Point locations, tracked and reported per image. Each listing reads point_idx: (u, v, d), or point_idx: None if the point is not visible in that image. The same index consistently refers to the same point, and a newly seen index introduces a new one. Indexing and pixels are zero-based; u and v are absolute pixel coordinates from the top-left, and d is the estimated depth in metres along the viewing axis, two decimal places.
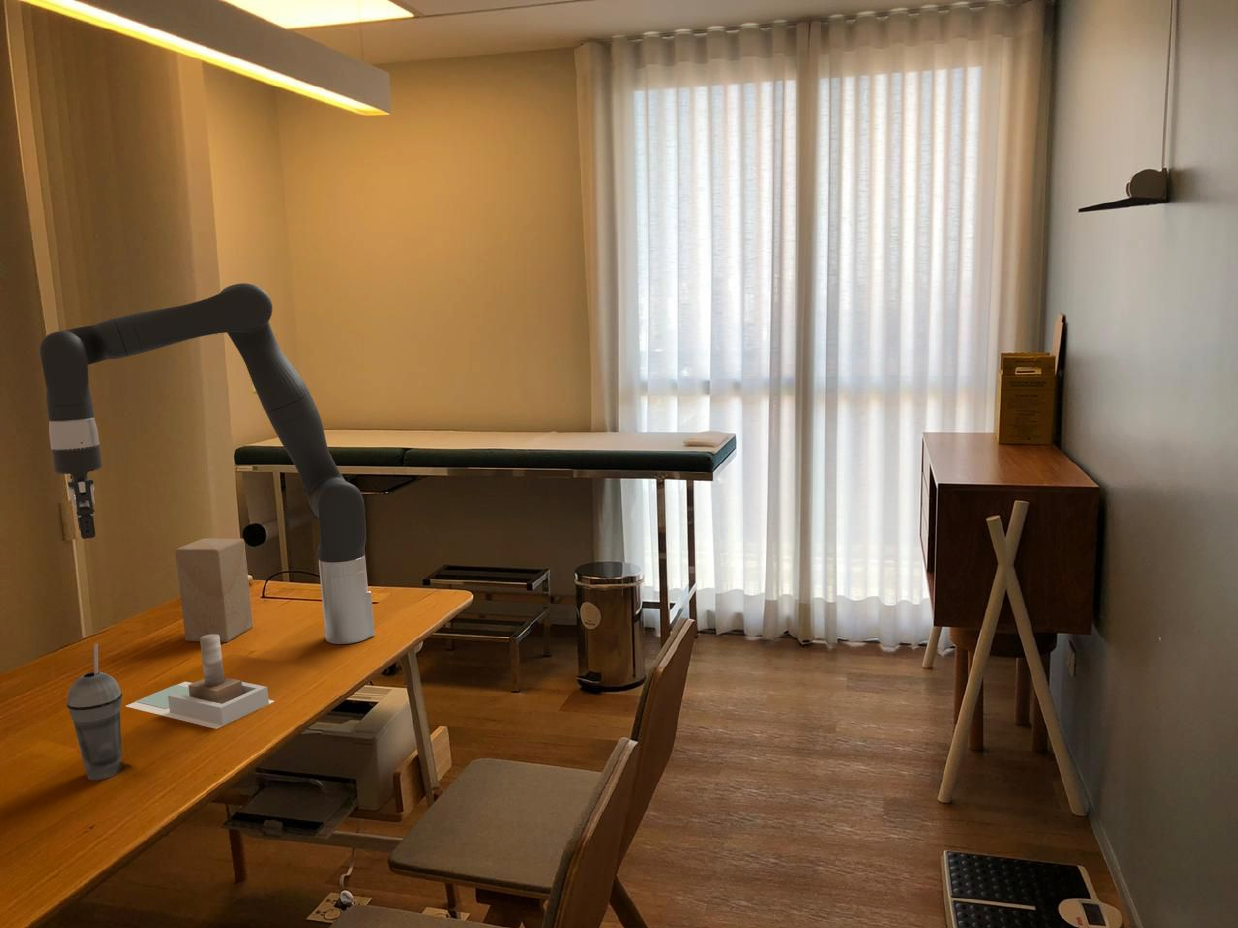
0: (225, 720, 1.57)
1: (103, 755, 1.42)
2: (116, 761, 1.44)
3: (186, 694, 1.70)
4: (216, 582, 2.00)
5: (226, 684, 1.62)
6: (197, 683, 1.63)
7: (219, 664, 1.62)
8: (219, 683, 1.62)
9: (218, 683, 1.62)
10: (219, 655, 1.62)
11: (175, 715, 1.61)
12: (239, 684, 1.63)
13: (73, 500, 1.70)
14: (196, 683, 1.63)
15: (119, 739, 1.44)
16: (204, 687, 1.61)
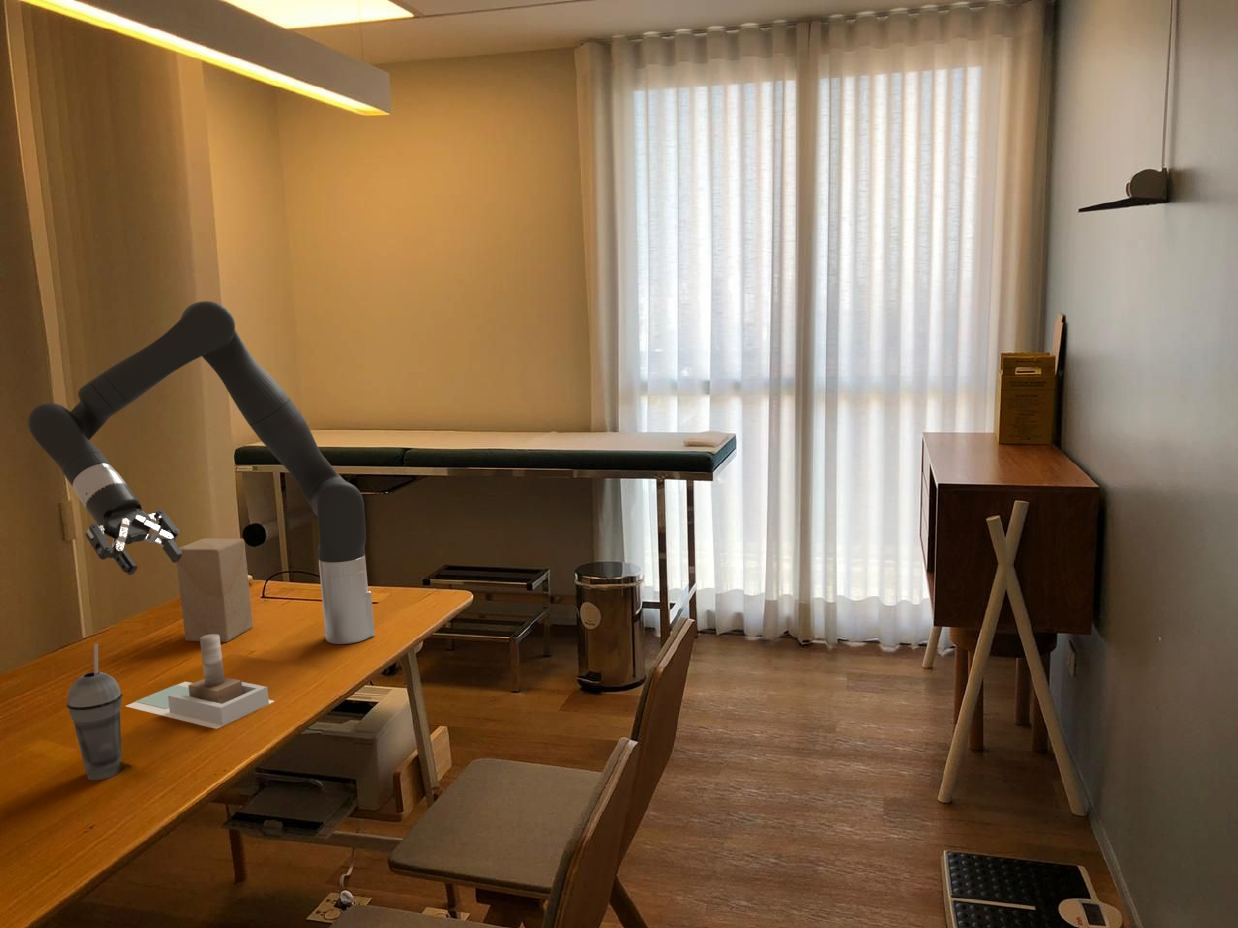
0: (225, 720, 1.57)
1: (103, 755, 1.42)
2: (116, 761, 1.44)
3: (186, 694, 1.70)
4: (216, 582, 2.00)
5: (226, 684, 1.62)
6: (197, 683, 1.63)
7: (219, 664, 1.62)
8: (219, 683, 1.62)
9: (218, 683, 1.62)
10: (219, 655, 1.62)
11: (175, 715, 1.61)
12: (239, 684, 1.63)
13: (112, 546, 1.65)
14: (196, 683, 1.63)
15: (119, 739, 1.44)
16: (204, 687, 1.61)
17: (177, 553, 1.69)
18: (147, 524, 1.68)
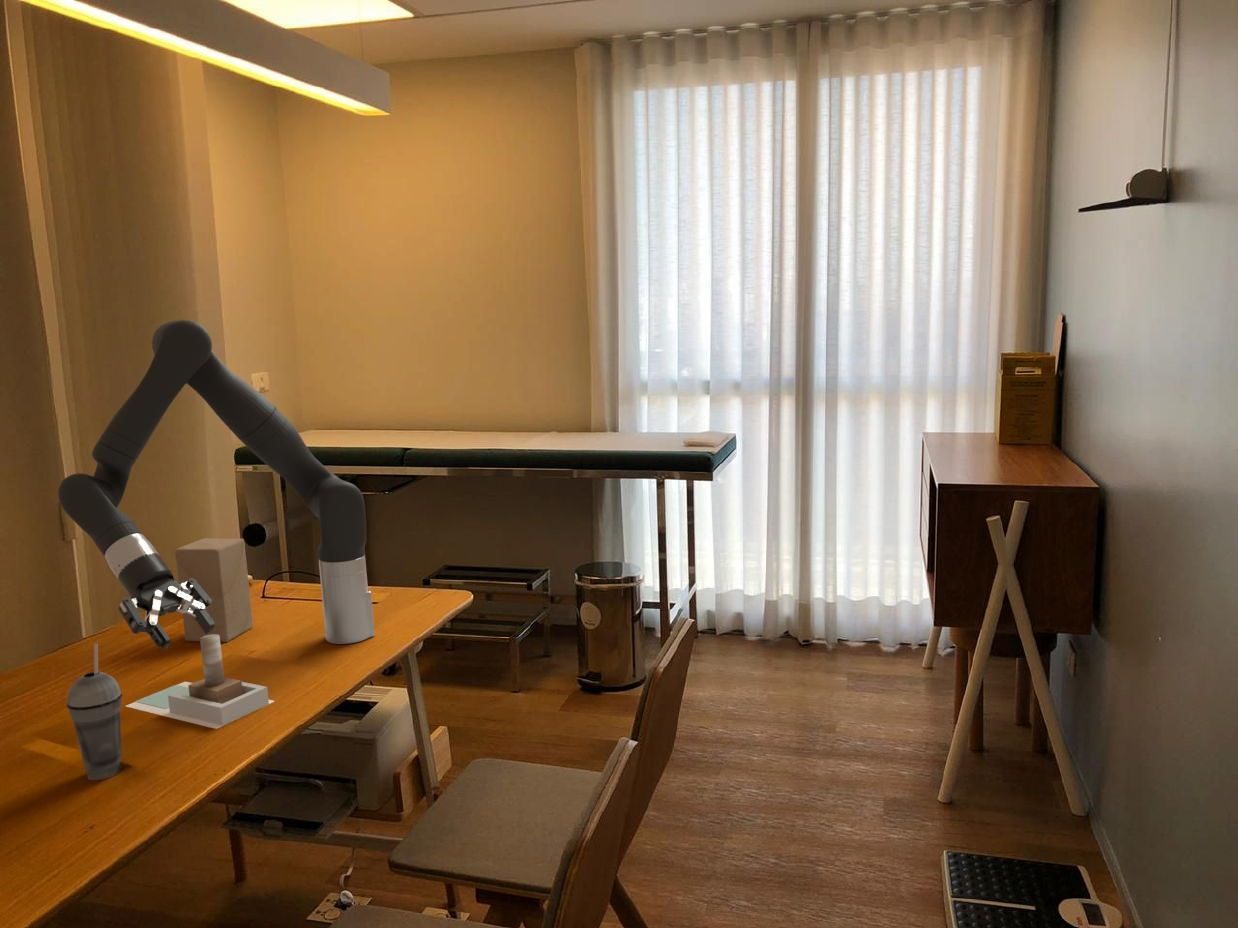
0: (225, 720, 1.57)
1: (103, 755, 1.42)
2: (116, 761, 1.44)
3: (186, 694, 1.70)
4: (216, 582, 2.00)
5: (226, 684, 1.62)
6: (197, 683, 1.63)
7: (219, 664, 1.62)
8: (219, 683, 1.62)
9: (218, 683, 1.62)
10: (219, 655, 1.62)
11: (175, 715, 1.61)
12: (239, 684, 1.63)
13: (145, 618, 1.64)
14: (196, 683, 1.63)
15: (119, 739, 1.44)
16: (204, 687, 1.61)
17: (210, 624, 1.68)
18: (179, 595, 1.67)
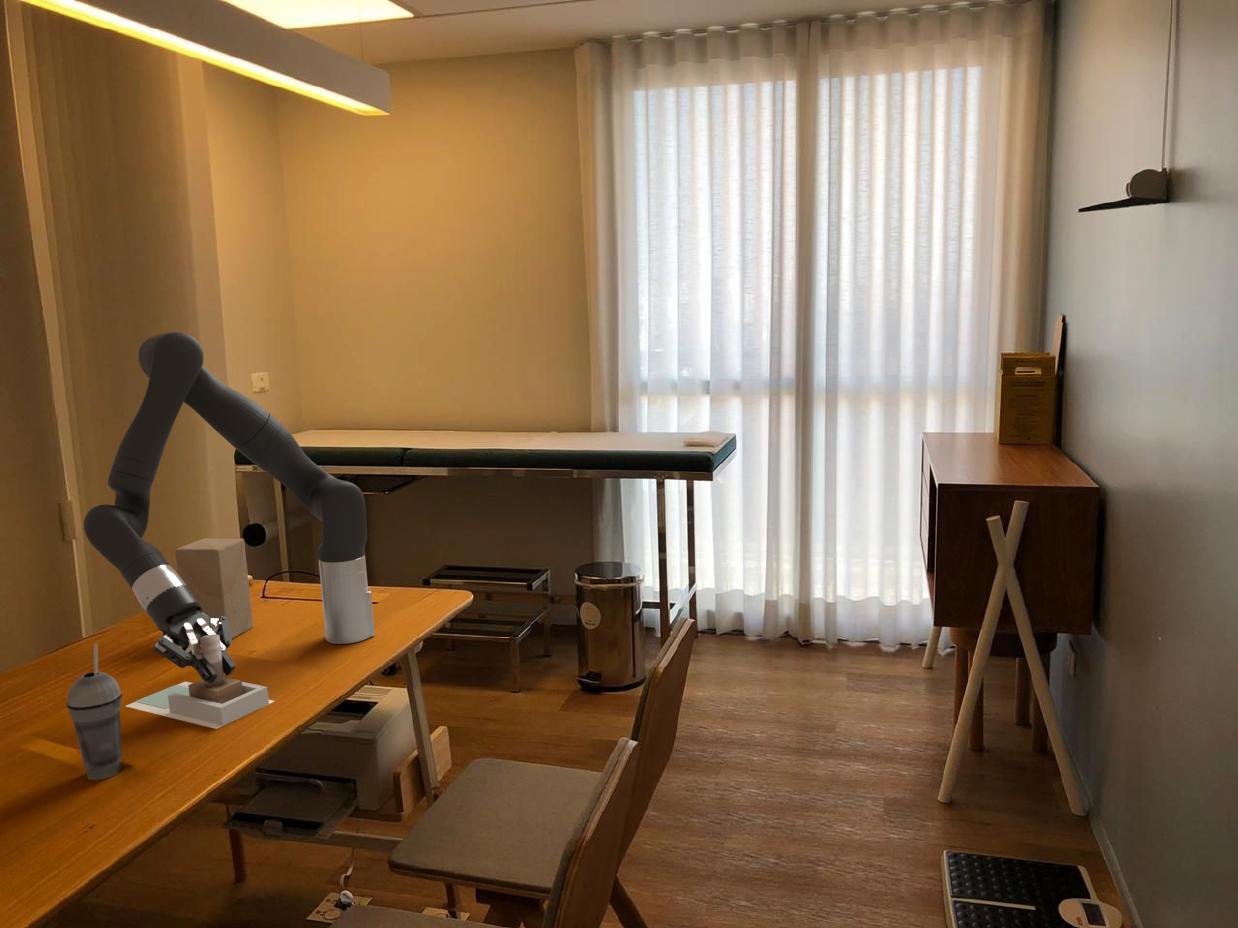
0: (225, 720, 1.57)
1: (103, 755, 1.42)
2: (116, 761, 1.44)
3: (186, 694, 1.70)
4: (216, 582, 2.00)
5: (226, 684, 1.62)
6: (197, 683, 1.63)
7: (219, 664, 1.62)
8: (219, 683, 1.62)
9: (218, 683, 1.62)
10: (219, 655, 1.62)
11: (175, 715, 1.61)
12: (239, 684, 1.63)
13: None
14: (196, 683, 1.63)
15: (119, 739, 1.44)
16: (204, 687, 1.61)
17: (230, 666, 1.63)
18: (205, 629, 1.64)
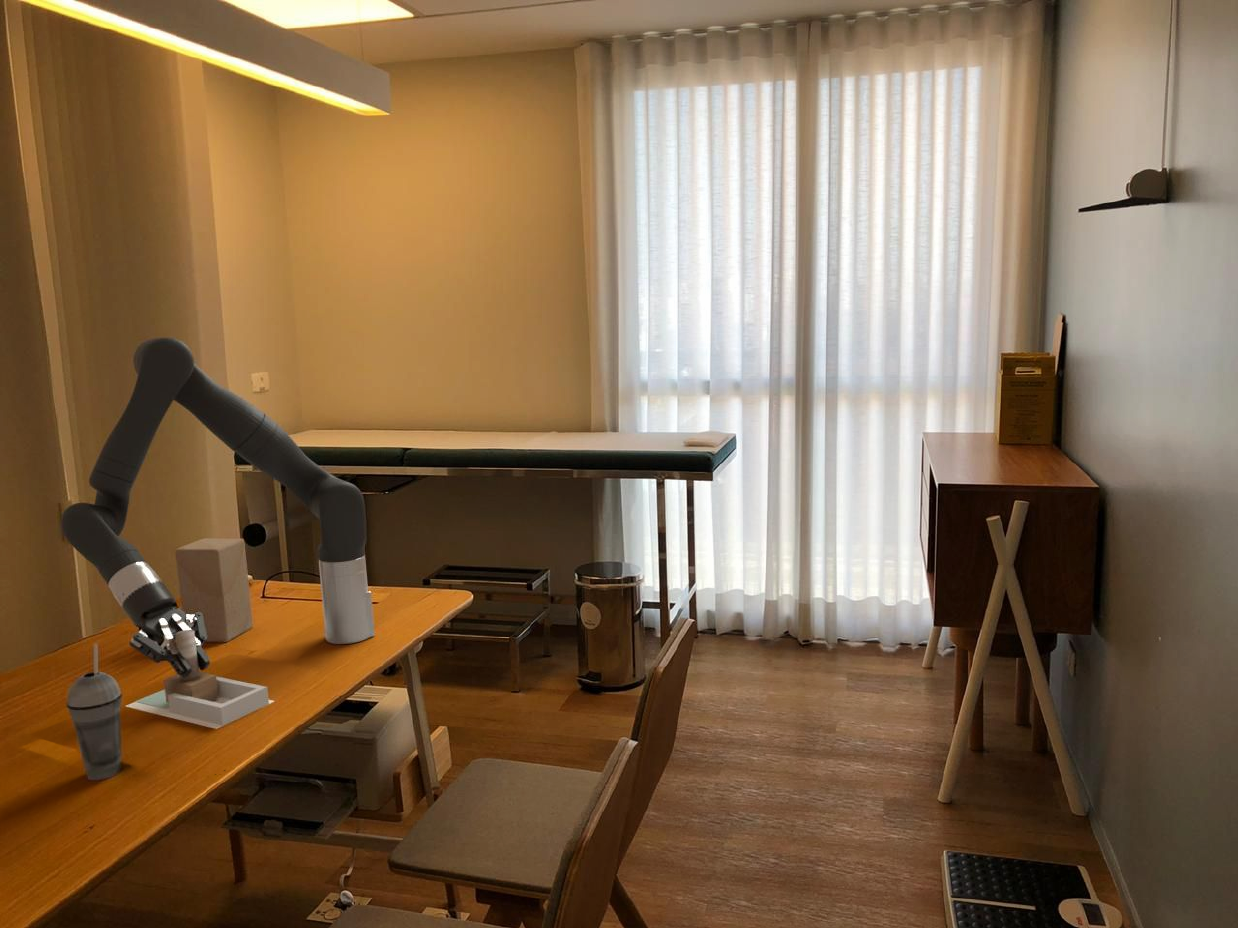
0: (225, 720, 1.57)
1: (103, 755, 1.42)
2: (116, 761, 1.44)
3: None
4: (216, 582, 2.00)
5: (200, 679, 1.65)
6: (172, 678, 1.66)
7: (194, 659, 1.65)
8: (194, 678, 1.65)
9: (193, 678, 1.65)
10: (194, 650, 1.65)
11: (175, 715, 1.61)
12: (214, 678, 1.66)
13: None
14: (171, 678, 1.66)
15: (119, 739, 1.44)
16: (179, 682, 1.64)
17: (205, 661, 1.66)
18: (180, 625, 1.67)
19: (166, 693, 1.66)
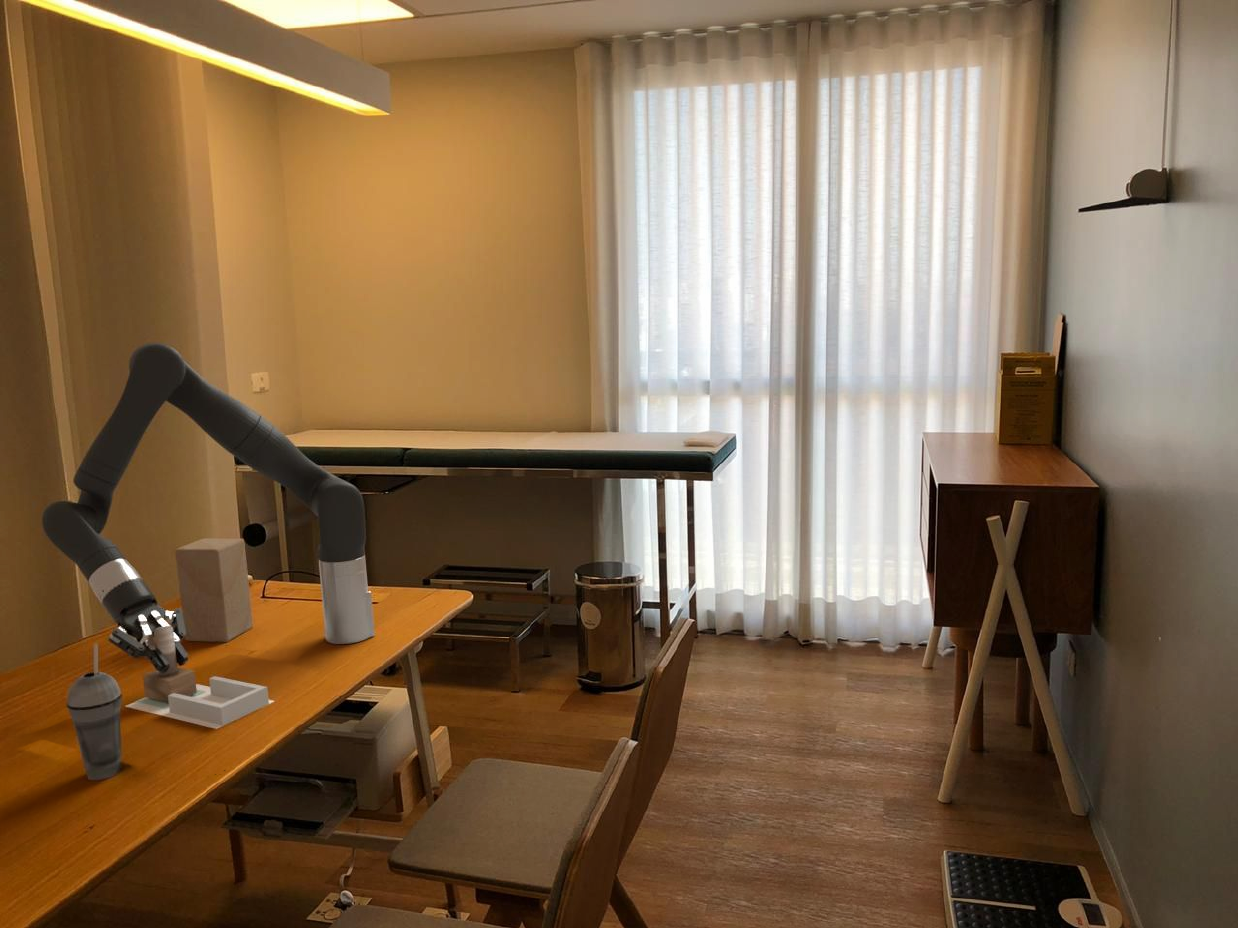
0: (225, 720, 1.57)
1: (103, 755, 1.42)
2: (116, 761, 1.44)
3: None
4: (216, 582, 2.00)
5: (179, 674, 1.68)
6: (151, 673, 1.69)
7: (172, 655, 1.68)
8: (172, 673, 1.68)
9: (171, 673, 1.68)
10: (172, 646, 1.68)
11: (175, 715, 1.61)
12: (192, 674, 1.69)
13: None
14: (150, 673, 1.69)
15: (119, 739, 1.44)
16: (157, 677, 1.67)
17: (184, 656, 1.69)
18: (159, 621, 1.70)
19: (145, 688, 1.68)
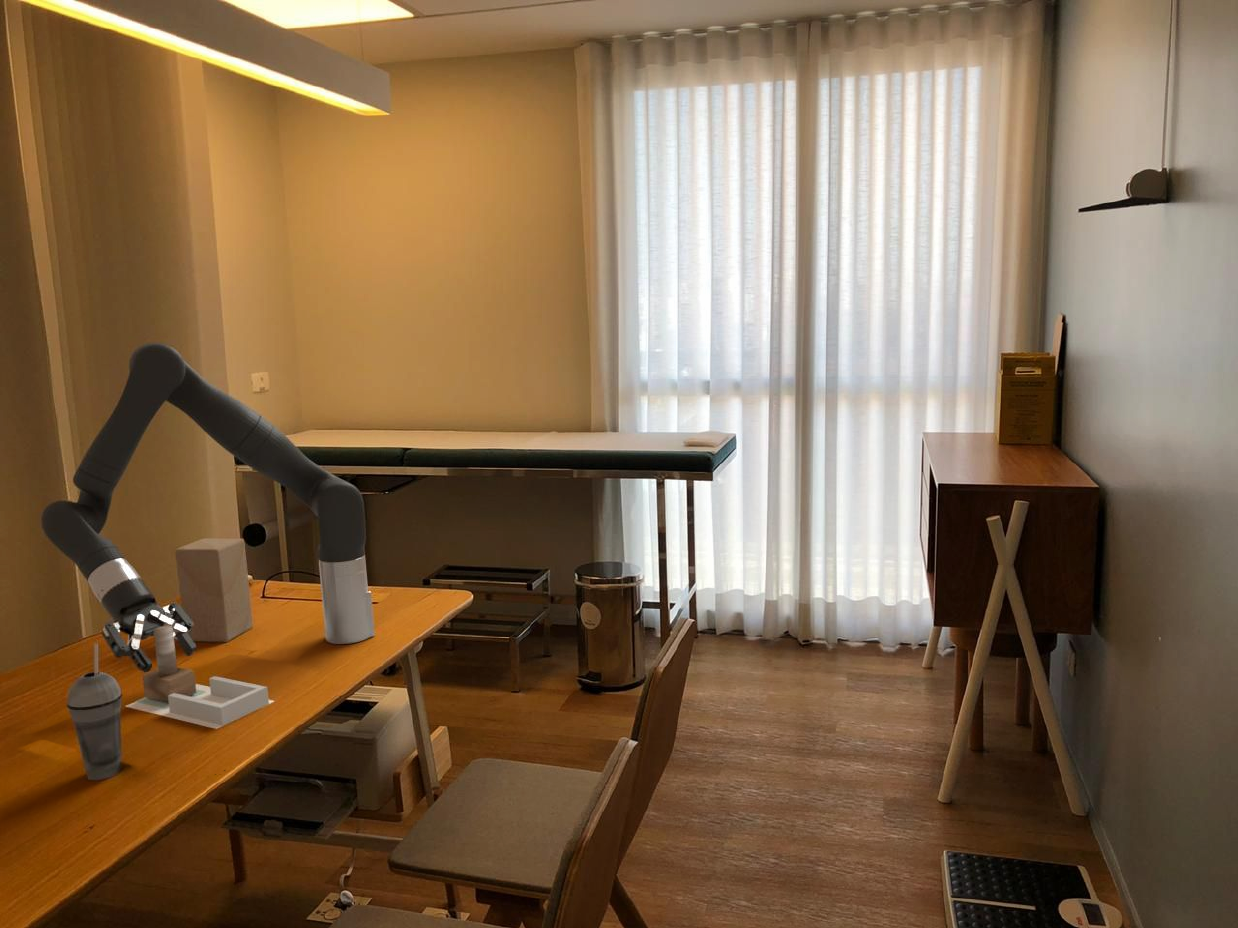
0: (225, 720, 1.57)
1: (103, 755, 1.42)
2: (116, 761, 1.44)
3: None
4: (216, 582, 2.00)
5: (178, 674, 1.68)
6: (151, 673, 1.69)
7: (172, 655, 1.68)
8: (172, 673, 1.68)
9: (171, 673, 1.68)
10: (172, 646, 1.68)
11: (175, 715, 1.61)
12: (192, 674, 1.69)
13: (127, 642, 1.67)
14: (150, 673, 1.69)
15: (119, 739, 1.44)
16: (157, 677, 1.67)
17: (191, 647, 1.71)
18: (162, 619, 1.71)
19: (145, 688, 1.69)
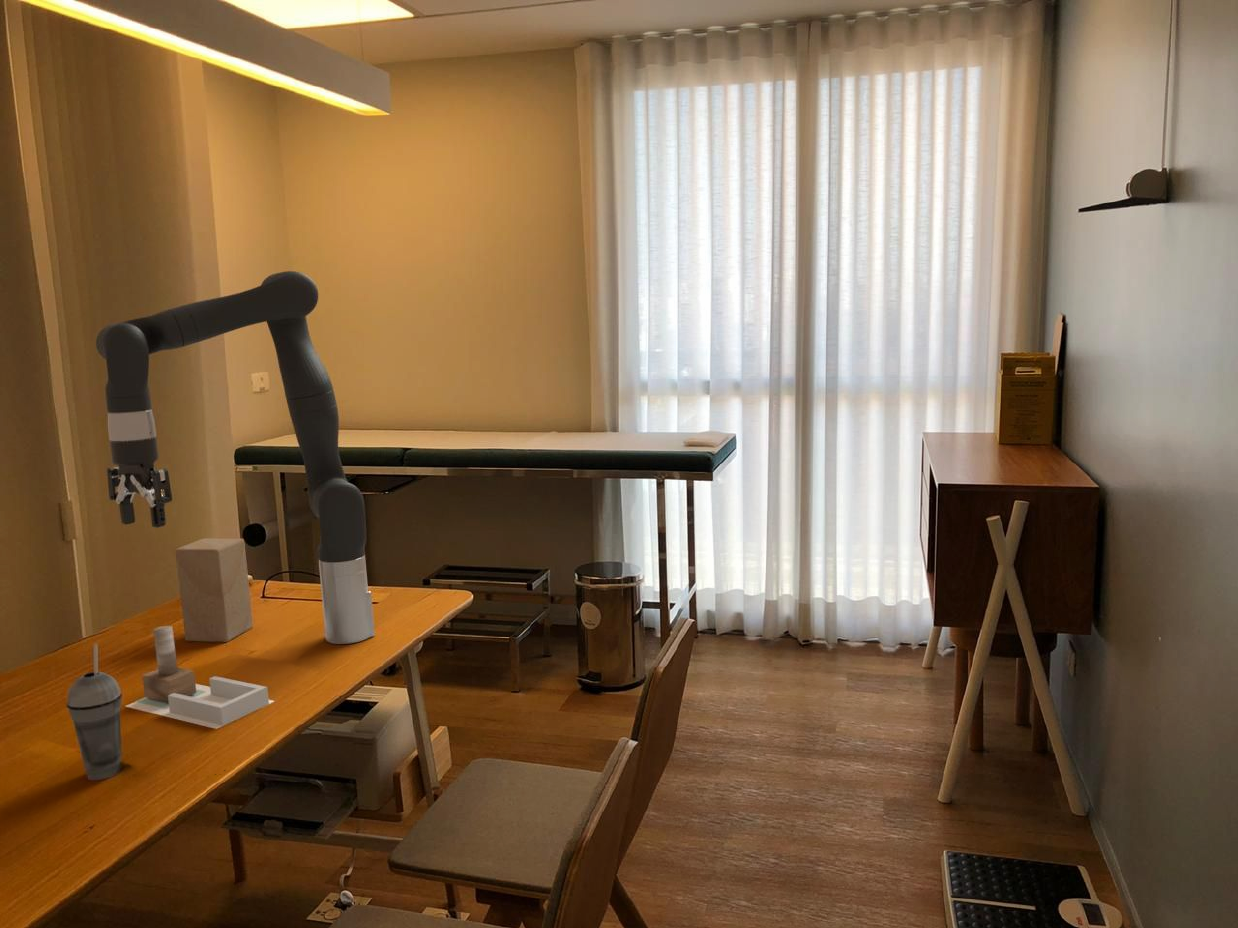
0: (225, 720, 1.57)
1: (103, 755, 1.42)
2: (116, 761, 1.44)
3: None
4: (216, 582, 2.00)
5: (178, 674, 1.68)
6: (151, 673, 1.69)
7: (172, 655, 1.68)
8: (172, 673, 1.68)
9: (171, 673, 1.68)
10: (172, 646, 1.68)
11: (175, 715, 1.61)
12: (192, 674, 1.69)
13: (144, 490, 1.72)
14: (150, 673, 1.69)
15: (119, 739, 1.44)
16: (157, 677, 1.67)
17: (134, 519, 1.78)
18: None
19: (145, 688, 1.69)
